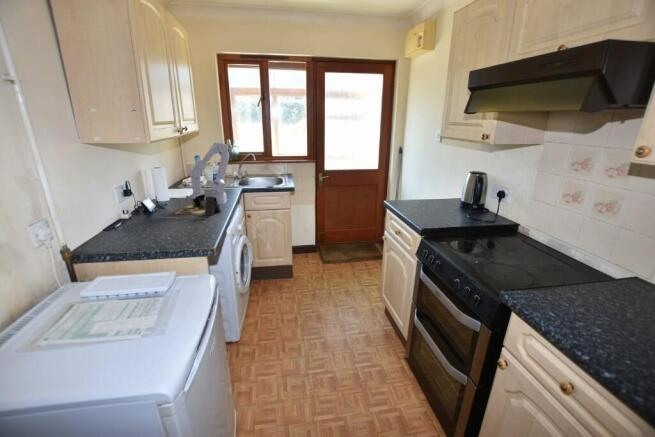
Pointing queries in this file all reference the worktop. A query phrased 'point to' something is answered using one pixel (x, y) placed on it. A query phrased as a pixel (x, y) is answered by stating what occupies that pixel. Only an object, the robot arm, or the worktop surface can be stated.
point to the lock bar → (202, 204)
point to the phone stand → (211, 206)
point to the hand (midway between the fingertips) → (199, 206)
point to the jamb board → (191, 210)
